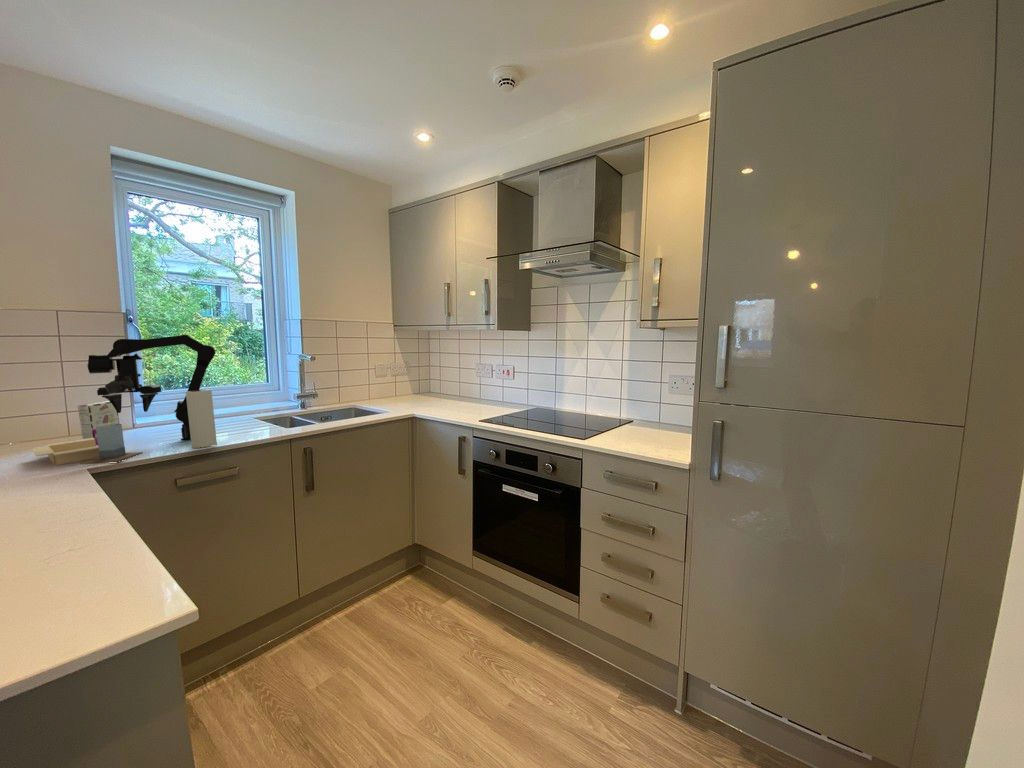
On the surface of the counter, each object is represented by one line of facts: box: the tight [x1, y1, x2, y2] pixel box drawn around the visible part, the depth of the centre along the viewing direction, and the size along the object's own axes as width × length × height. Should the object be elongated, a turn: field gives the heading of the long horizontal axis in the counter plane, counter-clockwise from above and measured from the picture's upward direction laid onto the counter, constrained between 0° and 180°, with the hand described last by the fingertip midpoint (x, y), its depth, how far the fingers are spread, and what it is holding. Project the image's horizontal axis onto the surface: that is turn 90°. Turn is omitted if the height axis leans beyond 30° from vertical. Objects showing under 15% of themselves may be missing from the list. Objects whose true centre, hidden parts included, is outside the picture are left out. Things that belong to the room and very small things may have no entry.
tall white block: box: [185, 389, 218, 449], centre depth 157 cm, size 7×6×21 cm
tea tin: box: [96, 423, 127, 460], centre depth 142 cm, size 5×5×11 cm
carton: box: [31, 438, 100, 466], centre depth 147 cm, size 22×23×4 cm
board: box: [80, 451, 143, 465], centre depth 143 cm, size 11×11×1 cm
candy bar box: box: [77, 400, 121, 446], centre depth 166 cm, size 11×5×16 cm, turn 179°
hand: (132, 412), depth 161 cm, fingers open, 9 cm apart
